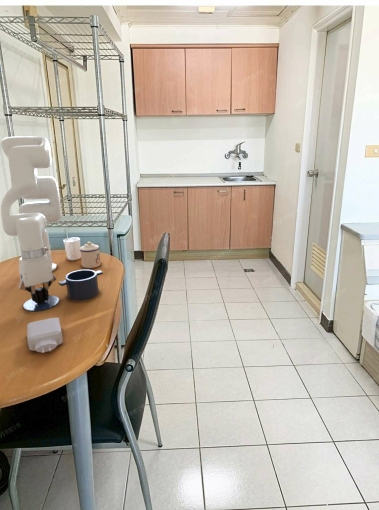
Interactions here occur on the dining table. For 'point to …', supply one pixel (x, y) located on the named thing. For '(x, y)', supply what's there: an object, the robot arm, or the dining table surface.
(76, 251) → the white cup
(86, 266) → the teacup with lid
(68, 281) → the pot
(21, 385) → the dining table surface
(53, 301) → the pot lid
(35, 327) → the charger
